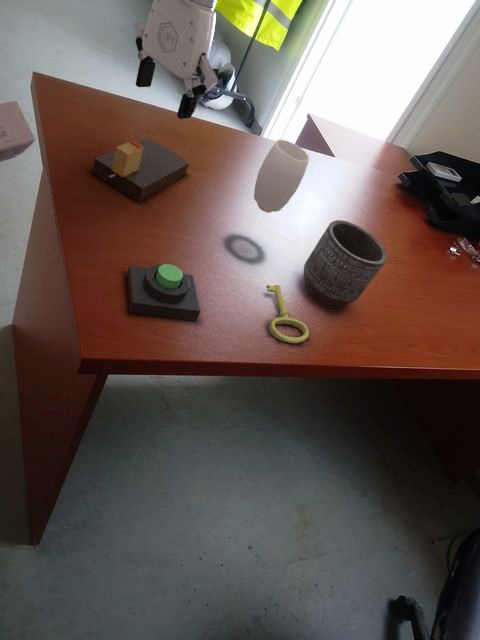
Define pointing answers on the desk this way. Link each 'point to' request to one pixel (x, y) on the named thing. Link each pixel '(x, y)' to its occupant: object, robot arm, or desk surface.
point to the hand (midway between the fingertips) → (163, 101)
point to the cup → (280, 175)
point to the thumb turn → (127, 158)
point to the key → (285, 319)
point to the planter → (342, 264)
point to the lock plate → (144, 170)
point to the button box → (161, 295)
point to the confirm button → (169, 276)
